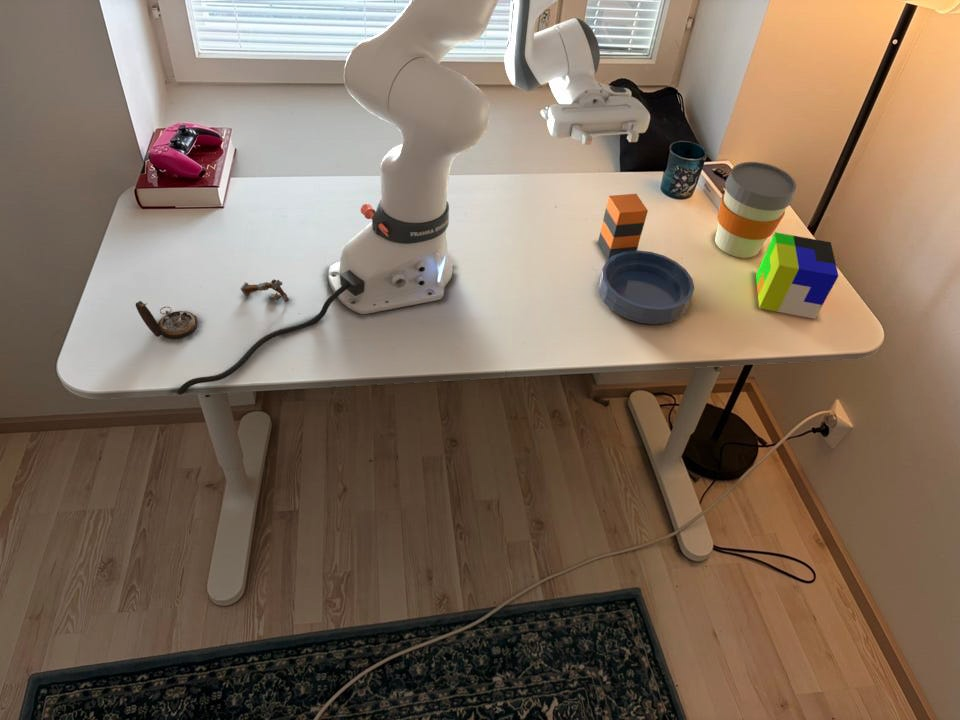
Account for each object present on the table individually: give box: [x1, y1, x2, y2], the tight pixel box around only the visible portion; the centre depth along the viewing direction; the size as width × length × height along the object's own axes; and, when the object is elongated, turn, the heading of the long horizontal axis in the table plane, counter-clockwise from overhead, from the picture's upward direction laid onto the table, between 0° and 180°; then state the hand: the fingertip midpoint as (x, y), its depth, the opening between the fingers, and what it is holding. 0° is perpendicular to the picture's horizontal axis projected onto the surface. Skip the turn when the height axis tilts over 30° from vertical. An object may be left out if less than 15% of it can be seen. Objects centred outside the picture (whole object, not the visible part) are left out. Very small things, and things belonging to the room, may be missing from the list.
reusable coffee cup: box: [714, 161, 797, 259], centre depth 140 cm, size 13×13×15 cm
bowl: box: [598, 249, 695, 325], centre depth 130 cm, size 16×16×4 cm
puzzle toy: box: [755, 231, 839, 320], centre depth 131 cm, size 10×10×10 cm
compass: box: [135, 300, 199, 340], centre depth 115 cm, size 8×8×7 cm
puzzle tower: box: [597, 193, 649, 261], centre depth 137 cm, size 6×6×11 cm
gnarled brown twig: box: [239, 279, 290, 303], centre depth 123 cm, size 2×8×4 cm, turn 75°
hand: (611, 140), depth 137 cm, fingers open, 8 cm apart
